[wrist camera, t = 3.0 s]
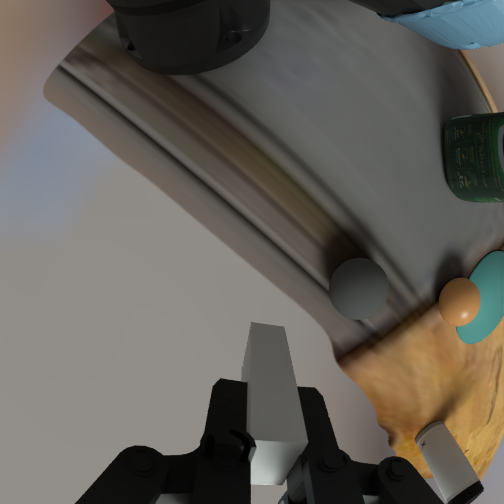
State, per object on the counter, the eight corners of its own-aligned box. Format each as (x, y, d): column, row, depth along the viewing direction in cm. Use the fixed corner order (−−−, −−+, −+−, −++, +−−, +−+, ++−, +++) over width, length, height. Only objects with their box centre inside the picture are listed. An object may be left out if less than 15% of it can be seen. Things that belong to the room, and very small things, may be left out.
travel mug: (408, 439, 33) (447, 518, 13) (438, 416, 32) (485, 492, 12) (419, 445, 34) (454, 516, 14) (446, 424, 32) (488, 492, 13)
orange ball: (437, 270, 25) (466, 286, 20) (466, 272, 25) (494, 287, 20) (424, 314, 26) (449, 336, 21) (454, 313, 27) (479, 332, 21)
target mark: (472, 245, 24) (473, 246, 24) (520, 254, 25) (521, 255, 24) (442, 347, 28) (443, 348, 28) (495, 338, 28) (496, 338, 28)
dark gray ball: (327, 249, 25) (346, 265, 19) (378, 253, 25) (405, 270, 19) (318, 303, 26) (332, 330, 21) (367, 305, 26) (389, 330, 21)
